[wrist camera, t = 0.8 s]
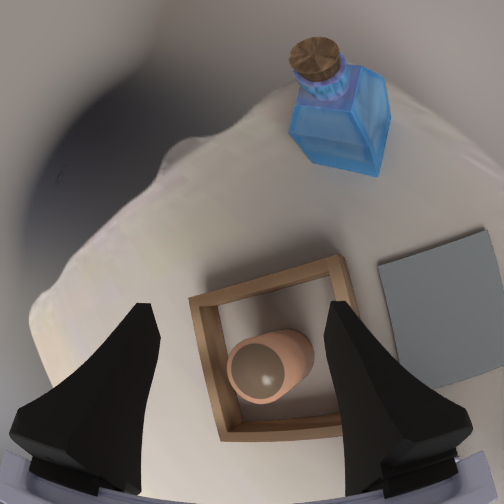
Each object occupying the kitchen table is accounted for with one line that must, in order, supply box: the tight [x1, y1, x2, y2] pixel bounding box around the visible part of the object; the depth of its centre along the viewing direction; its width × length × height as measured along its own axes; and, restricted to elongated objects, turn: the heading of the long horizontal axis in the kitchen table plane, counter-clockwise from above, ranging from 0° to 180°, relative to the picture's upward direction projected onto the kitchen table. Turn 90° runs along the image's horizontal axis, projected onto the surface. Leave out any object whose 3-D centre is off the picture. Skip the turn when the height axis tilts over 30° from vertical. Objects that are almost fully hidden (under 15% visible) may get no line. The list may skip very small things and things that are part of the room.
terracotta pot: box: [227, 329, 314, 404], centre depth 24 cm, size 5×5×6 cm
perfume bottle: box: [288, 37, 391, 177], centre depth 21 cm, size 6×6×12 cm
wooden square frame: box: [188, 254, 360, 442], centre depth 25 cm, size 14×14×3 cm
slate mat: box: [378, 230, 504, 390], centre depth 20 cm, size 11×10×1 cm
